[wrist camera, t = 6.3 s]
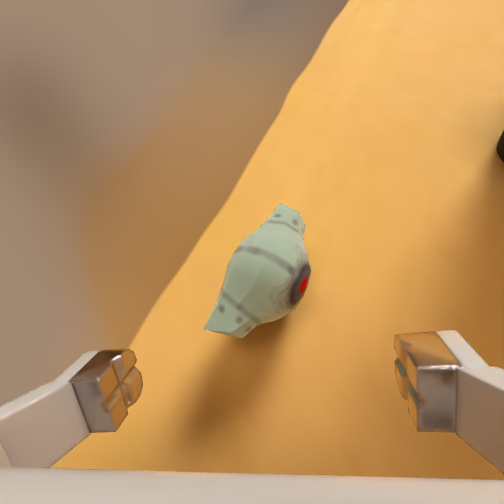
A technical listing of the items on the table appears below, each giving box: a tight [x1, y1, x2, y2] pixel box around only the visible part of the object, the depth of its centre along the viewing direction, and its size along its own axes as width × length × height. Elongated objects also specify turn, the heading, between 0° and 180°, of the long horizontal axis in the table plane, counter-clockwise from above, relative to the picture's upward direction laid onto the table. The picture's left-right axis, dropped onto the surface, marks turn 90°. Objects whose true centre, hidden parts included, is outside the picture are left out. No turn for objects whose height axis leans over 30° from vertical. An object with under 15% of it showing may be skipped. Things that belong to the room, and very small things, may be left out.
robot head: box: [204, 203, 311, 339], centre depth 16 cm, size 8×4×7 cm, turn 150°
